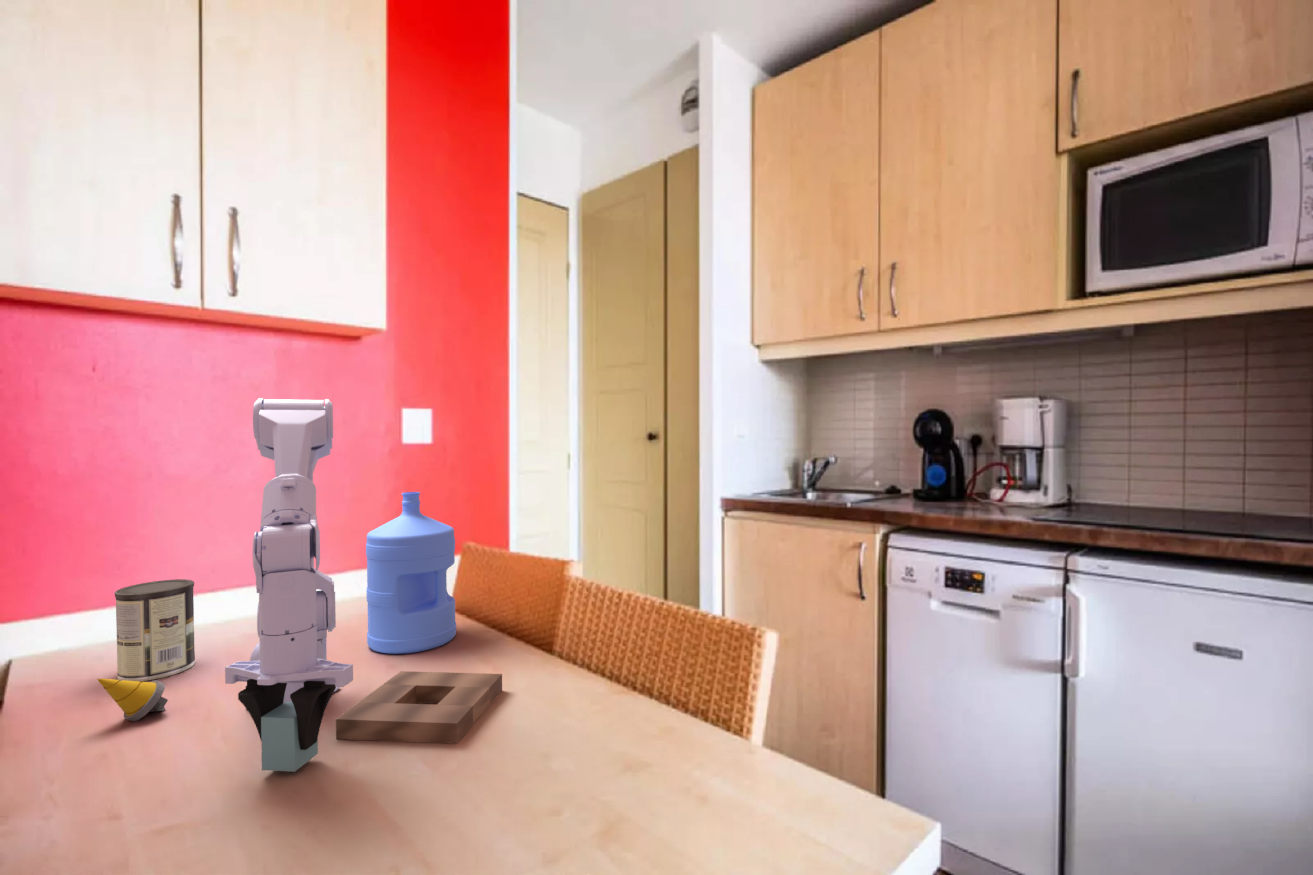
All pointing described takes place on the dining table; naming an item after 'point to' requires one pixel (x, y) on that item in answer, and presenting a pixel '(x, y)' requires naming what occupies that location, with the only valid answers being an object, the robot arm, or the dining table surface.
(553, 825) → the dining table surface
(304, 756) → the pale blue box
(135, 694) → the drill bit
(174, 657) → the coffee can
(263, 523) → the robot arm
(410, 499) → the water jug
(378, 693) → the block with rectangular hole
